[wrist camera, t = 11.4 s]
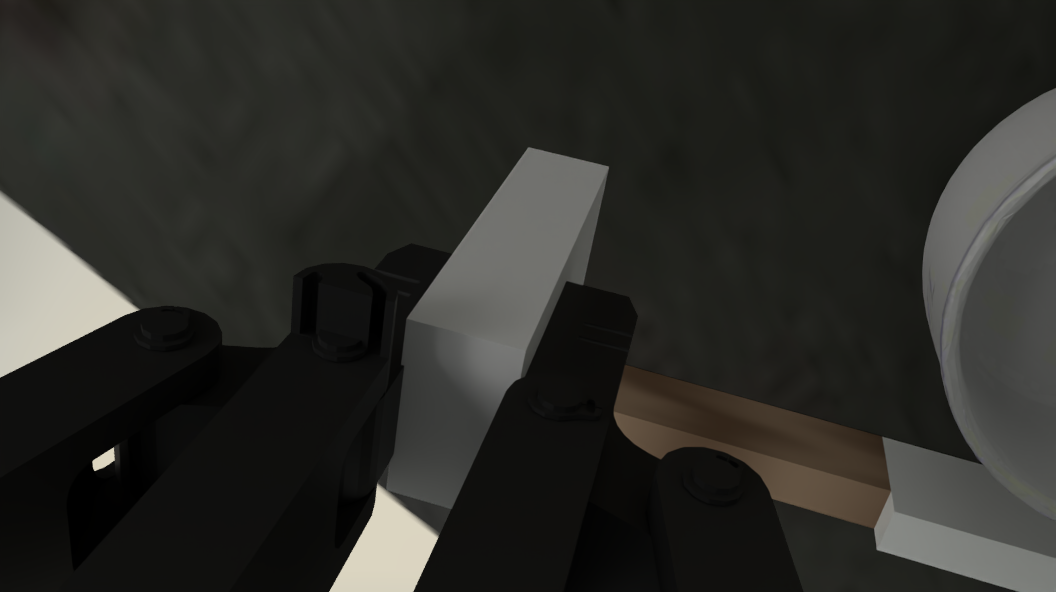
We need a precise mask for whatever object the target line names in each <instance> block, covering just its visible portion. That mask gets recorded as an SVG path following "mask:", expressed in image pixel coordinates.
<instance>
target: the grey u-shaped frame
mask: <svg viewBox="0 0 1056 592" xmlns="http://www.w3.org/2000/svg"><path fill="white" fill-rule="evenodd" d="M882 438H883V444H884V450H885V456H886V463H887V469H888V475H889V481H890V487H891V493H890V495H889V497H888V499H887V501H886V504H885V506H884V508H883V510H882V513H881V515H880V517H879V519H878V521H877V524H876V526H875V528H874V531H875V539H876V547H877V550H879V551H883V552H886V553H890V554H893V555H896V556H900V557H903V558H907V559H910V560H913V561H917V562H920V563H923V564H927V565H930V566H934V567H937V568H940V569H944V570H947V571H950V572H954V573H957V574H961V575H964V576H967V577H971V578H974V579H978V580H981V581H984V582H988V583H991V584H994V585H998V586H1001V587H1005V588H1008V589H1011V590H1015V591H1018V592H1056V521H1054V520H1050V519H1049V518H1047V517H1045V516H1044V515H1042V514H1041V513H1039V512H1038V511H1036V510H1035V509H1033V508H1032V507H1030V506H1029V505H1027V504H1026V503H1025V502H1023V501H1022V500H1021V499H1020V498H1018V497H1017V496H1015V495H1013V494H1011V493H1010V492H1009V491H1008V490H1007V489H1006V488H1005V487H1004V486H1003V485H1002V484H1001V483H1000V482H998V481H997V480H996V479H995V478H994V477H993V476H992V474H991V473H990V472H989V470H988V469H987V468H986V467H985V466H984V465H982V464H978V463H975V462H971V461H967V460H964V459H960V458H957V457H953V456H950V455H946V454H942V453H939V452H935V451H932V450H928V449H924V448H921V447H917V446H914V445H910V444H907V443H903V442H899V441H896V440H892V439H889V438H885V437H882Z"/></svg>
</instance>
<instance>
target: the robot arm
mask: <svg viewBox="0 0 1056 592" xmlns="http://www.w3.org/2000/svg"><path fill="white" fill-rule="evenodd" d="M608 170H609V167H608V166H604V165H600V164H596V163H591V162H587V161H583V160H579V159H575V158H571V157H567V156H562V155H558V154H554V153H550V152H546V151H542V150H537V149H533V148H529V147H528V149H527V150H526V152H525V153H524V154H523V156H522V157H521V159H520V160H519V161H518V163H517V164H516V166H515V167H514V168H513V170H512V171H511V173H510V174H509V176H508V177H507V178H506V180H505V181H504V183H503V184H502V185H501V187H500V188H499V190H498V191H497V192H496V194H495V195H494V197H493V198H492V199H491V201H490V202H489V204H488V205H487V206H486V208H485V209H484V211H483V212H482V213H481V215H480V216H479V218H478V219H477V220H476V222H475V223H474V225H473V226H472V227H471V229H470V230H469V232H468V233H467V234H466V236H465V237H464V239H463V240H462V241H461V243H460V244H459V246H458V247H457V249H456V250H455V251H454V253H453V254H450V253H446V252H443V251H439V250H435V249H431V248H427V247H423V246H419V245H415V244H412V243H411V244H409V245H407V246H405V247H402V248H400V249H398V250H395V251H393V252H391V253H388V254H387V255H386V256H385V257H384V259H383V260H382V261H381V262H380V263H379V264H378V266H377V267H376V268H375V269H374V270H372V269H370V268H367V267H365V266H359V265H353V264H346V263H332V264H321V265H317V266H313V267H309V268H306V269H304V270H302V271H301V272H299V273H297V274H296V275H294V278H293V298H292V319H291V333H290V334H289V335H288V336H287V337H286V338H285V339H284V340H283V341H282V343H281V344H280V345H279V346H278V347H275V348H254V347H240V346H225V345H222V331H221V329H220V327H219V325H218V323H217V322H216V321H215V320H214V319H212V318H211V317H209V316H208V315H206V314H205V313H202V312H199V311H196V310H192V309H189V308H184V307H174V306H161V307H154V308H145V309H141V310H139V311H136V312H133V313H130V314H127V315H124V316H122V317H120V318H118V319H117V320H115V321H112V322H111V323H109V324H107V325H105V326H103V327H101V328H99V329H97V330H95V331H93V332H91V333H89V334H87V335H85V336H83V337H81V338H79V339H77V340H75V341H73V342H71V343H69V344H67V345H65V346H63V347H61V348H59V349H57V350H55V351H53V352H51V353H49V354H47V355H45V356H43V357H41V358H39V359H37V360H35V361H33V362H31V363H29V364H27V365H25V366H23V367H21V368H19V369H17V370H15V371H13V372H11V373H9V374H7V375H5V376H3V377H1V378H0V592H329V591H330V589H331V587H332V586H333V584H334V582H335V580H336V578H337V577H338V575H339V573H340V571H341V570H342V568H343V566H344V564H345V562H346V561H347V559H348V557H349V555H350V553H351V552H352V550H353V548H354V546H355V545H356V543H357V541H358V539H359V537H360V535H361V534H362V532H363V530H364V528H365V527H366V525H367V523H368V521H369V519H370V517H371V516H372V512H373V508H374V504H375V497H376V488H377V482H378V480H379V479H380V477H381V475H382V473H383V472H384V470H385V468H386V467H387V465H388V463H389V461H390V463H389V471H388V480H387V488H386V490H388V491H391V492H395V493H398V494H402V495H405V496H409V497H412V498H415V499H419V500H422V501H426V502H429V503H433V504H436V505H440V506H443V507H446V508H450V509H451V511H450V514H449V516H448V518H447V520H446V522H445V524H444V527H443V529H442V531H441V533H440V535H439V537H438V540H437V542H436V544H435V546H434V548H433V550H432V553H431V555H430V557H429V560H428V561H427V563H426V566H425V568H424V570H423V572H422V574H421V576H420V579H419V581H418V583H417V585H416V587H415V590H414V592H803V589H802V586H801V583H800V580H799V577H798V575H797V572H796V569H795V566H794V563H793V560H792V557H791V554H790V551H789V548H788V545H787V542H786V539H785V536H784V533H783V530H782V527H781V524H780V521H779V518H778V515H777V512H776V509H775V506H774V504H773V501H772V498H771V495H770V492H769V490H768V488H767V486H766V485H765V483H764V481H763V480H762V478H761V476H760V475H759V474H758V473H757V472H755V471H754V470H753V469H752V468H751V467H750V466H748V465H747V464H746V463H745V462H743V461H741V460H739V459H737V458H735V457H733V456H731V455H729V454H727V453H725V452H722V451H718V450H714V449H710V448H706V447H682V448H679V449H676V450H673V451H670V452H667V453H666V455H665V456H664V457H663V458H662V459H659V458H657V457H655V456H653V455H651V454H649V453H648V452H646V451H645V450H643V449H641V448H640V447H638V446H637V445H635V444H634V443H633V442H632V441H631V440H630V439H628V438H627V437H626V436H625V435H624V434H623V432H622V431H621V429H620V428H619V427H618V425H617V423H616V420H615V417H614V406H615V402H616V399H617V395H618V391H619V387H620V383H621V379H622V376H623V372H624V368H625V364H626V360H627V356H628V352H629V348H630V345H631V341H632V337H633V333H634V329H635V325H636V321H637V318H638V316H637V313H636V311H635V309H634V307H633V305H632V303H631V300H630V298H629V297H627V296H623V295H619V294H615V293H611V292H608V291H604V290H600V289H596V288H592V287H588V286H584V285H583V283H584V278H585V274H586V269H587V265H588V260H589V256H590V251H591V247H592V242H593V238H594V233H595V229H596V224H597V220H598V215H599V211H600V206H601V201H602V197H603V192H604V188H605V183H606V179H607V174H608ZM113 447H114V454H115V461H113V462H112V463H110V464H109V465H107V466H106V467H104V468H102V469H99V470H97V471H94V469H93V464H92V461H93V460H94V459H96V458H97V457H99V456H100V455H102V454H104V453H105V452H107V451H108V450H110V449H112V448H113Z"/></svg>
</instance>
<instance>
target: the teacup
mask: <svg viewBox="0 0 1056 592" xmlns="http://www.w3.org/2000/svg"><path fill="white" fill-rule="evenodd" d="M922 278H923V296H924V302H925V309H926V315H927V319H928V323H929V328H930V332H931V335H932V339H933V343H934V346H935V350H936V353H937V356H938V359H939V362H940V366H941V375H942V380H943V384H944V389H945V393H946V397H947V400H948V403H949V405H950V408H951V411H952V414H953V416H954V419H955V421H956V423H957V425H958V427H959V429H960V431H961V433H962V435H963V437H964V439H965V441H966V442H967V444H968V445H969V446H970V448H971V449H972V450H973V452H974V454H975V456H976V458H977V459H978V460H979V461H980V462H981V463H982V464H983V465H984V466H985V467H986V468H987V469H988V470H989V472H990V473H991V474H992V476H993V477H994V478H995V479H996V480H997V481H998V482H1000V483H1001V484H1002V485H1003V486H1004V487H1005V488H1006V489H1007V490H1008V491H1009V492H1010V493H1011V494H1013V495H1015V496H1017V497H1018V498H1020V499H1021V500H1022V501H1023V502H1025V503H1026V504H1027V505H1029V506H1030V507H1032V508H1033V509H1035V510H1036V511H1038V512H1039V513H1041V514H1042V515H1044V516H1045V517H1047V518H1049V519H1050V520H1054V521H1056V88H1055V89H1053V90H1051V91H1048V92H1046V93H1044V94H1042V95H1040V96H1039V97H1037V98H1035V99H1034V100H1032V101H1030V102H1029V103H1027V104H1025V105H1024V106H1022V107H1021V108H1019V109H1018V110H1017V111H1015V112H1014V113H1012V114H1011V115H1010V116H1008V117H1007V118H1005V119H1004V120H1003V121H1001V122H1000V123H999V124H998V125H997V126H996V127H995V128H993V129H992V130H991V131H990V132H989V133H988V134H987V135H986V136H985V137H984V138H983V139H982V140H981V141H980V142H979V143H978V144H976V146H975V147H974V148H973V149H972V150H971V151H970V153H969V154H968V155H967V156H966V157H965V159H964V160H963V161H962V163H961V164H960V165H959V167H958V168H957V170H956V171H955V173H954V174H953V176H952V177H951V178H950V180H949V182H948V184H947V186H946V188H945V189H944V191H943V193H942V195H941V197H940V199H939V202H938V204H937V206H936V209H935V211H934V213H933V216H932V219H931V222H930V225H929V229H928V234H927V238H926V243H925V247H924V256H923V270H922Z"/></svg>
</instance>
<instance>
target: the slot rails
mask: <svg viewBox="0 0 1056 592" xmlns="http://www.w3.org/2000/svg"><path fill="white" fill-rule="evenodd" d="M614 417H615V420H616V423H617V425H618V427H619V428H620V429H621V431H622V432H623V434H624V435H625V436H626V437H627V438H628V439H630V440H631V441H632V442H633V443H634V444H635V445H637V446H638V447H640V448H641V449H643V450H645V451H646V452H648V453H649V454H651V455H653V456H655V457H657V458H659V459H662V458H663V457H664V456H665V455H666V453H667V452H670V451H673V450H676V449H679V448H682V447H706V448H710V449H714V450H718V451H722V452H725V453H727V454H729V455H731V456H733V457H735V458H737V459H739V460H741V461H743V462H745V463H746V464H747V465H748V466H750V467H751V468H752V469H753V470H754V471H755V472H757V473H758V474H759V475H760V476H761V478H762V480H763V481H764V483H765V485H766V486H767V488H768V490H769V492H770V495H771V498H772V499H775V500H778V501H782V502H785V503H788V504H792V505H795V506H799V507H802V508H805V509H809V510H812V511H816V512H819V513H823V514H826V515H829V516H833V517H836V518H840V519H843V520H846V521H850V522H853V523H857V524H860V525H863V526H867V527H870V528H875V526H876V524H877V521H878V519H879V517H880V515H881V513H882V510H883V508H884V506H885V504H886V501H887V499H888V497H889V495H890V493H891V487H890V481H889V475H888V469H887V463H886V456H885V450H884V444H883V438H882V436H878V435H874V434H871V433H867V432H864V431H860V430H857V429H853V428H849V427H846V426H842V425H839V424H835V423H832V422H828V421H824V420H821V419H817V418H814V417H810V416H807V415H803V414H799V413H796V412H792V411H789V410H785V409H782V408H778V407H774V406H771V405H767V404H764V403H760V402H757V401H753V400H749V399H746V398H742V397H739V396H735V395H731V394H728V393H724V392H721V391H717V390H714V389H710V388H706V387H703V386H699V385H696V384H692V383H689V382H685V381H681V380H678V379H674V378H671V377H667V376H664V375H660V374H656V373H653V372H649V371H646V370H642V369H639V368H635V367H631V366H628V365H625V368H624V372H623V376H622V379H621V383H620V387H619V391H618V395H617V399H616V402H615V406H614Z"/></svg>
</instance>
